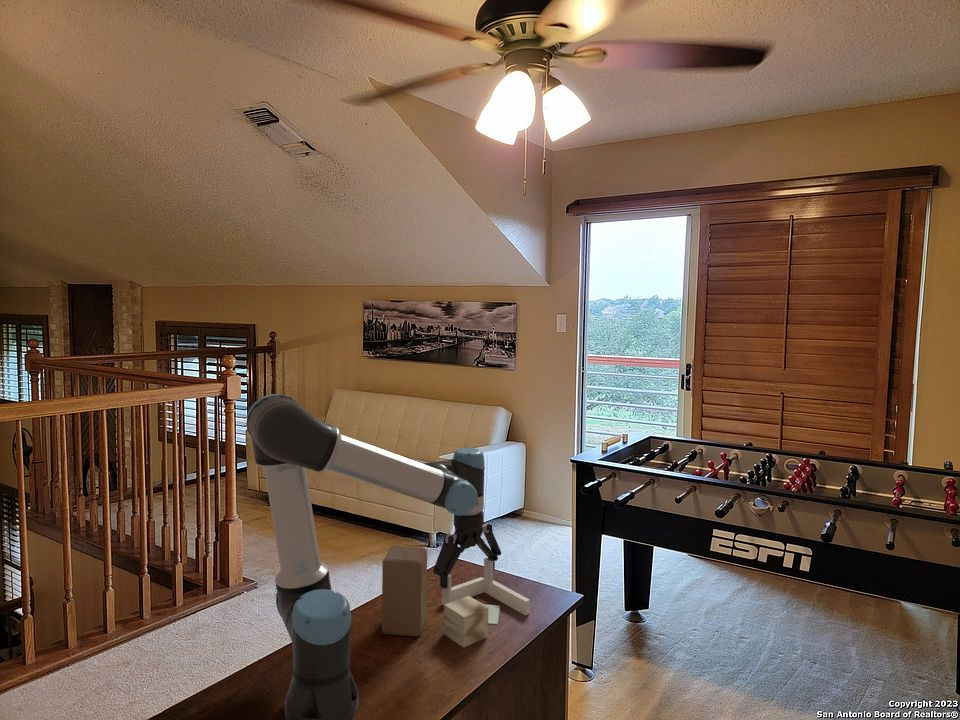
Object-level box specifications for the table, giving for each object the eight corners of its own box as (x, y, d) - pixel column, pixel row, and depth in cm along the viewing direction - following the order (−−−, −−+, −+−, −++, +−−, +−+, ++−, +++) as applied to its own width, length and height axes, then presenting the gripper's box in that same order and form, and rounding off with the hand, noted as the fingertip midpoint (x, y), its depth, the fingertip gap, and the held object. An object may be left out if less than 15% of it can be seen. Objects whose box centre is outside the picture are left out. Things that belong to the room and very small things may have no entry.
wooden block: (426, 618, 177) (428, 546, 175) (419, 638, 167) (420, 562, 165) (390, 616, 178) (390, 544, 176) (380, 635, 168) (381, 560, 166)
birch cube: (463, 647, 164) (463, 617, 163) (443, 634, 170) (444, 604, 169) (487, 637, 169) (488, 607, 168) (467, 624, 175) (468, 595, 174)
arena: (479, 634, 170) (479, 620, 169) (435, 606, 184) (436, 592, 183) (529, 613, 181) (530, 599, 181) (484, 588, 195) (485, 575, 195)
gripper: (437, 526, 155) (437, 612, 157) (515, 503, 171) (514, 582, 173) (418, 517, 160) (419, 600, 163) (496, 496, 176) (495, 572, 179)
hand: (468, 591), depth 168 cm, fingers open, 13 cm apart
